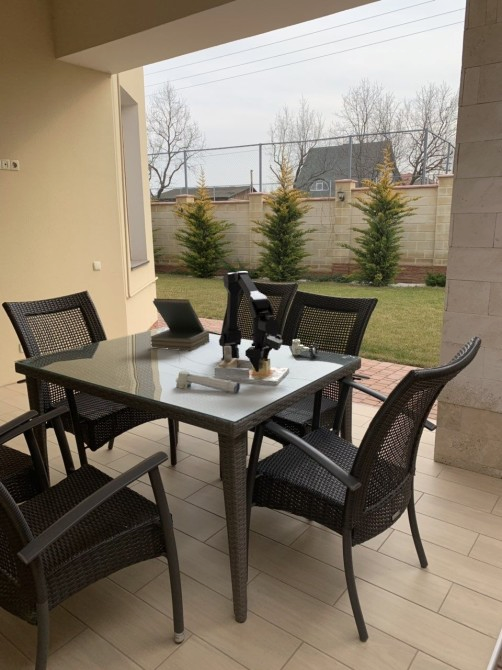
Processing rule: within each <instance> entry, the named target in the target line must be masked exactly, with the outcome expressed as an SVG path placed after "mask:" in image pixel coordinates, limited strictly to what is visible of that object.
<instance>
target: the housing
mask: <svg viewBox="0 0 502 670" xmlns="http://www.w3.org/2000/svg"><path fill="white" fill-rule="evenodd" d="M270 367H271V358H268V359H264V358H261V359H260V366H259V372H256V371H255V369H254V367H253V365H252V374H265V375H267V374H268V373H269V372H270Z"/></svg>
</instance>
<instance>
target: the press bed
mask: <svg viewBox="0 0 502 670" xmlns="http://www.w3.org/2000/svg"><path fill="white" fill-rule="evenodd" d="M213 368H214V369H213V370H214V374H213V375H212V378H216V379H222V380H227V381H229V380H231V381H232V382H236V383H247V384H256V385H257V384H258V385H259V384H260V385H270V386H271V385H272V386H277V385H279V383H280V382H281V381H282V380H283V379H284V378H285V377H286V376H287V374H288V373H290V367H282V366H281V367H280V366H270V372H269V373H268V374H267V375H265V374H252V363H251V362H250V360H249V358H247V359H245V358H237V367H236V368H232V367H219V365H217V366H214V367H213Z"/></svg>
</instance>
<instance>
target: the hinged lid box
mask: <svg viewBox="0 0 502 670" xmlns="http://www.w3.org/2000/svg"><path fill="white" fill-rule="evenodd" d="M152 303H153V305H154V306H155V308H156V309H157V311H158V313H159V315H160V316H161V318H162V320H163V321H164V323H165V324H166V326H167V327H168V329H166V330H163V331H161V332H158V333H155V334H153V335H151V336H150V343H151V344H150V346H151V348H152V347H157V348H156V349H159V348H168V349H167V350H173V349H179V350H178V351H186V350H188V351H191V352H192V351H194V350H195V349H198V348H199V347H201V346H204V345H206V344H207V342H208V343H210V330H205V328H204V326H203V324H202V321H201V320H200V319H199V317H198V315H197V313H196V311H195V309H194V308H193V306H192V303H191V302H190V300H189V299H186V298H185V299H179V298H153V301H152ZM205 343H206V344H205Z"/></svg>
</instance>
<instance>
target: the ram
mask: <svg viewBox="0 0 502 670" xmlns="http://www.w3.org/2000/svg"><path fill="white" fill-rule="evenodd" d="M237 359H238V358H232V355H231V346H224V360H222V361H221V362H220V363H218V367H232V368H236V367H237Z"/></svg>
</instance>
